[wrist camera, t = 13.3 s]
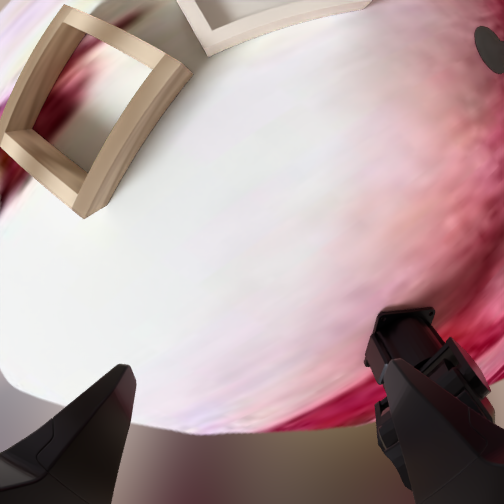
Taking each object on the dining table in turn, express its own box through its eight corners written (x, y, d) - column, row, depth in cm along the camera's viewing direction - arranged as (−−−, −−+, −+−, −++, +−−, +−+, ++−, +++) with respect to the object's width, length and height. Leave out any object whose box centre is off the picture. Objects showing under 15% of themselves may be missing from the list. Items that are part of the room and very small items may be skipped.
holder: (193, 74, 16) (181, 62, 13) (106, 205, 20) (83, 219, 16) (86, 16, 13) (64, 4, 10) (19, 135, 17) (-7, 139, 14)
